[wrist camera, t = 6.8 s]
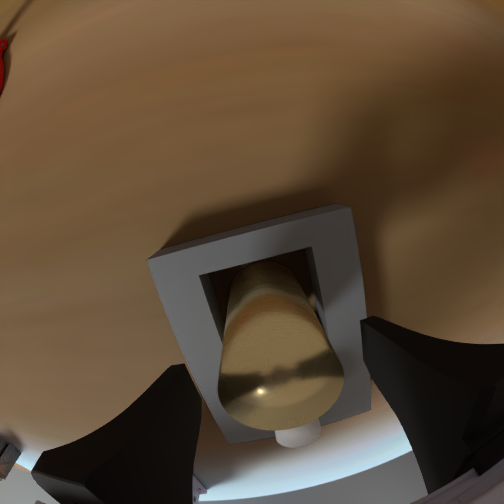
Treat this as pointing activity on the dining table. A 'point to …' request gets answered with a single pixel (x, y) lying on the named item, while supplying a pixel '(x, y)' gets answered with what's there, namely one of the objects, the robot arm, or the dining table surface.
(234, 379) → the cylinder
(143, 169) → the dining table surface
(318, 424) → the grey holder block
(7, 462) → the ruin model on sheet
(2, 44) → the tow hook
